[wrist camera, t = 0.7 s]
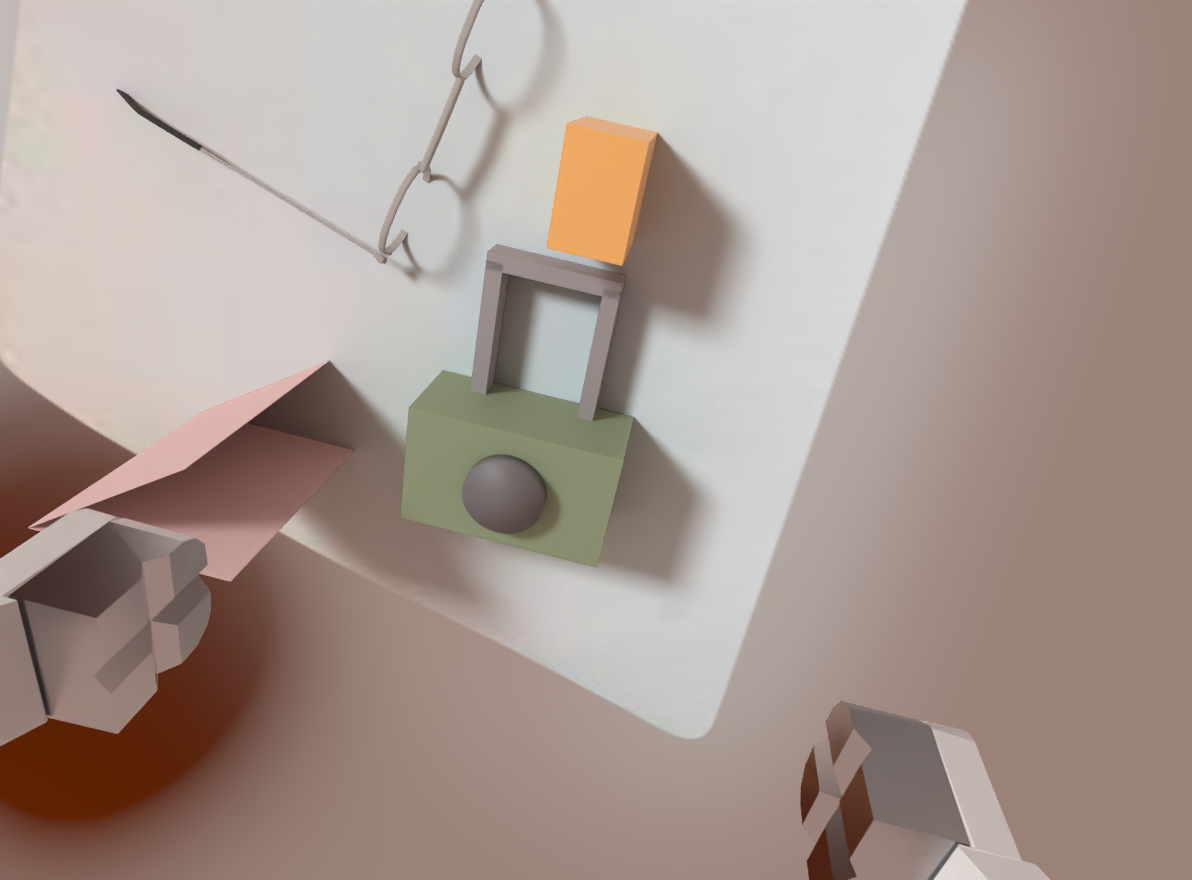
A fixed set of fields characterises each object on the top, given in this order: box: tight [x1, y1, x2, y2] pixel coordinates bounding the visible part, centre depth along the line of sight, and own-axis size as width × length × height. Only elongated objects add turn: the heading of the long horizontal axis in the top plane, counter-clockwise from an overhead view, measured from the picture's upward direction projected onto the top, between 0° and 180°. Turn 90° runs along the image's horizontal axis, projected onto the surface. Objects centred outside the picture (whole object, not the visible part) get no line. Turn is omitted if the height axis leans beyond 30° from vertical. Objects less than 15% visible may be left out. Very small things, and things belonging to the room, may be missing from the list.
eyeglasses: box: [117, 0, 484, 264], centre depth 38 cm, size 18×19×4 cm
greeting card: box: [28, 361, 355, 582], centre depth 44 cm, size 11×7×15 cm, turn 78°
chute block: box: [547, 116, 658, 266], centre depth 38 cm, size 6×4×6 cm, turn 169°
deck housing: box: [400, 245, 634, 567], centre depth 44 cm, size 17×13×7 cm
